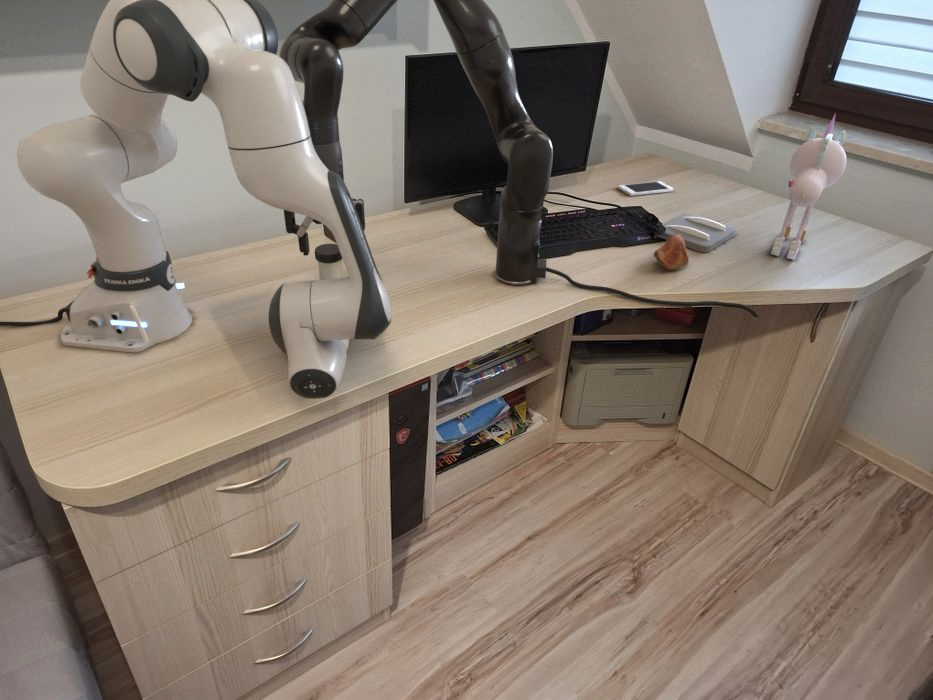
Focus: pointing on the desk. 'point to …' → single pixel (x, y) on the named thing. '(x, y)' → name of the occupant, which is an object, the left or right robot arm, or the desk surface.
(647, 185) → the smartphone
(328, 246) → the lid
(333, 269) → the beige cylindrical bottle
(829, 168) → the toy
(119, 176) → the left robot arm
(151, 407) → the desk surface
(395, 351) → the desk surface
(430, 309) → the desk surface
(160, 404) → the desk surface
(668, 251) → the fossil
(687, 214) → the light switch
